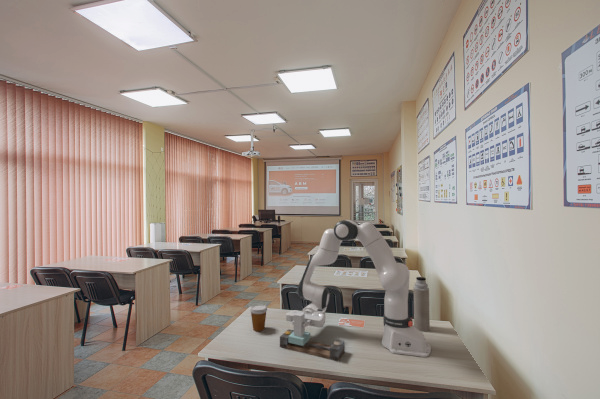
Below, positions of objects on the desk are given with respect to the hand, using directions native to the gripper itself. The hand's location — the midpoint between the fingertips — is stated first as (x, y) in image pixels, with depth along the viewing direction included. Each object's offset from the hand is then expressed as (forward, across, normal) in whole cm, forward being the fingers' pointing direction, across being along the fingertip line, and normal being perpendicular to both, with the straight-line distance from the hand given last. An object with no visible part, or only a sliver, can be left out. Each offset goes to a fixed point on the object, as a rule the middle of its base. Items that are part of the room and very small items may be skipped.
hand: (298, 324), depth 140 cm
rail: (-1, +6, +11) cm, 13 cm away
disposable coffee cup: (-9, -30, +11) cm, 33 cm away
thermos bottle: (-48, +52, +11) cm, 72 cm away
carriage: (-1, 0, +8) cm, 8 cm away
